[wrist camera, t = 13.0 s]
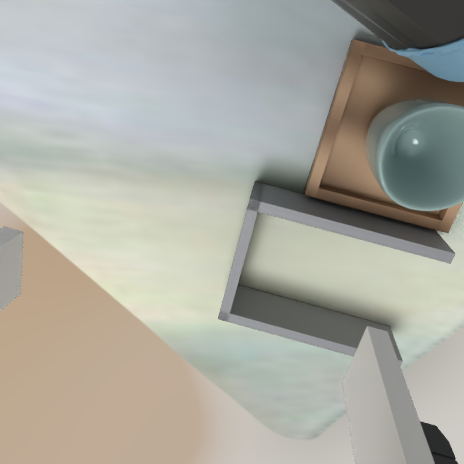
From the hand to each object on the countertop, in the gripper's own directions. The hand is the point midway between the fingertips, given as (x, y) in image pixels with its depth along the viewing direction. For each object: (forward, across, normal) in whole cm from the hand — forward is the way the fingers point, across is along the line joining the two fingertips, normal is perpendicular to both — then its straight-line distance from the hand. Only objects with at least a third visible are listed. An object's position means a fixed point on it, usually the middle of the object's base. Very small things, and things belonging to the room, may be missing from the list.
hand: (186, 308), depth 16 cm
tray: (+29, +13, +5) cm, 32 cm away
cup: (+28, +13, +5) cm, 32 cm away
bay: (+29, +11, -9) cm, 32 cm away
